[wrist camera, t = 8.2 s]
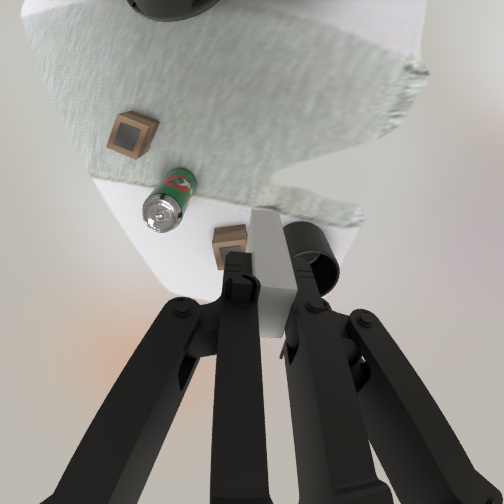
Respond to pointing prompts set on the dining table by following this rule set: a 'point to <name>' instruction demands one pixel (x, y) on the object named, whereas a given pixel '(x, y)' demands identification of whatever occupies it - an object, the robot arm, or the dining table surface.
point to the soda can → (169, 201)
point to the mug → (313, 253)
